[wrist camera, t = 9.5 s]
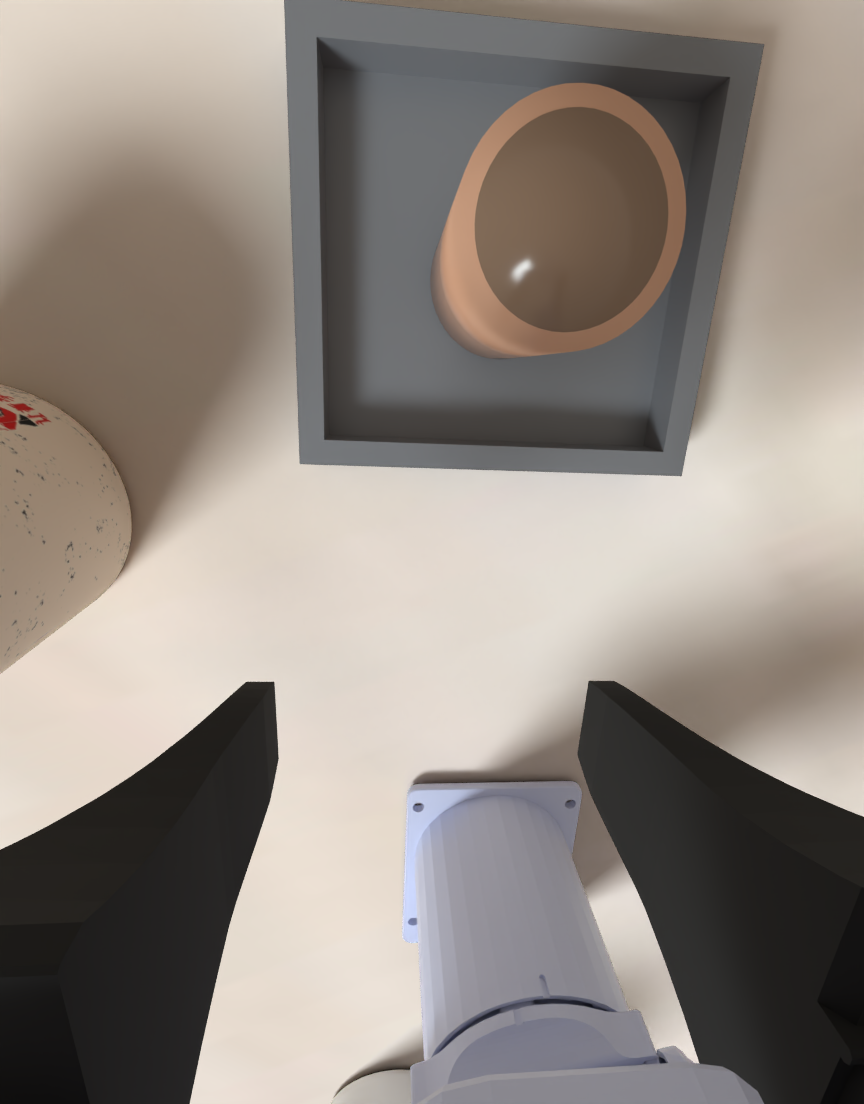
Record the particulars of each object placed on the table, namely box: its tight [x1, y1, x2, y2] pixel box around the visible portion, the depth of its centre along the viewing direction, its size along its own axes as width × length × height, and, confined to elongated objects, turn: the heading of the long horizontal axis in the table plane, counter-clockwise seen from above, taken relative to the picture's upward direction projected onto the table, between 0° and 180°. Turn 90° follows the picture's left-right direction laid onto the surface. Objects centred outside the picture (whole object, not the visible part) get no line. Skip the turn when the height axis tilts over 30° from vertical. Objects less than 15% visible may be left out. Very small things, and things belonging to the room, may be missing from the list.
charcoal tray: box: [284, 0, 764, 476], centre depth 17 cm, size 12×13×2 cm
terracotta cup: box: [430, 83, 686, 360], centre depth 14 cm, size 5×5×7 cm
